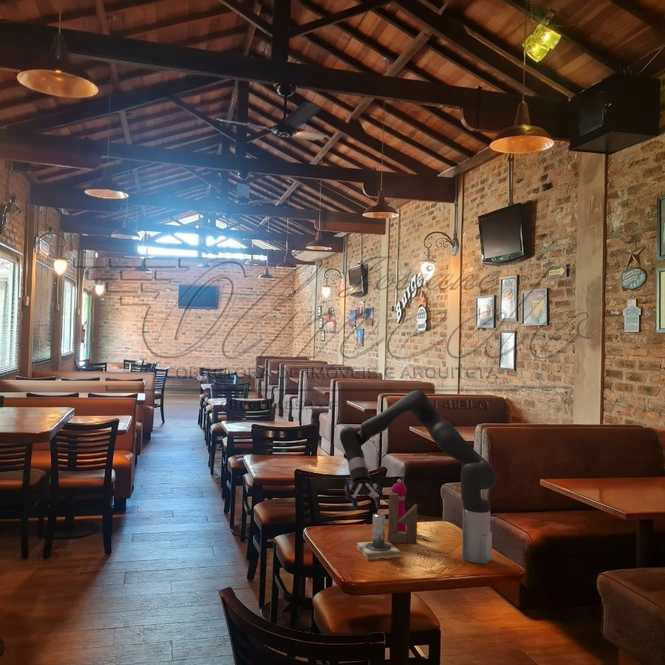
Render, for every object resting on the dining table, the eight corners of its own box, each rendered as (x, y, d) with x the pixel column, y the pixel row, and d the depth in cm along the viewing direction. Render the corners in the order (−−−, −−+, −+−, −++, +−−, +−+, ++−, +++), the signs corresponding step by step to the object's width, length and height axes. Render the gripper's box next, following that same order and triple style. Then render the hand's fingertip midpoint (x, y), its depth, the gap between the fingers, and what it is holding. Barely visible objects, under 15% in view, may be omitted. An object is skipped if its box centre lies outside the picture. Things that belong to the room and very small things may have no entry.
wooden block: (416, 544, 221) (417, 495, 221) (387, 543, 221) (389, 494, 221) (415, 541, 224) (416, 493, 225) (387, 540, 224) (388, 492, 225)
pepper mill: (410, 528, 240) (411, 479, 241) (402, 532, 234) (403, 482, 235) (394, 525, 244) (395, 476, 245) (386, 529, 238) (387, 479, 239)
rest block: (400, 557, 206) (400, 551, 206) (367, 559, 203) (367, 553, 203) (387, 546, 217) (388, 540, 217) (356, 548, 214) (356, 542, 214)
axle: (386, 546, 211) (387, 514, 211) (380, 549, 207) (381, 517, 207) (376, 543, 213) (376, 512, 214) (369, 546, 210) (370, 515, 210)
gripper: (373, 476, 238) (383, 512, 226) (339, 477, 234) (347, 514, 223) (378, 465, 233) (387, 501, 222) (343, 466, 229) (351, 503, 218)
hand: (367, 508), depth 222 cm, fingers open, 8 cm apart
